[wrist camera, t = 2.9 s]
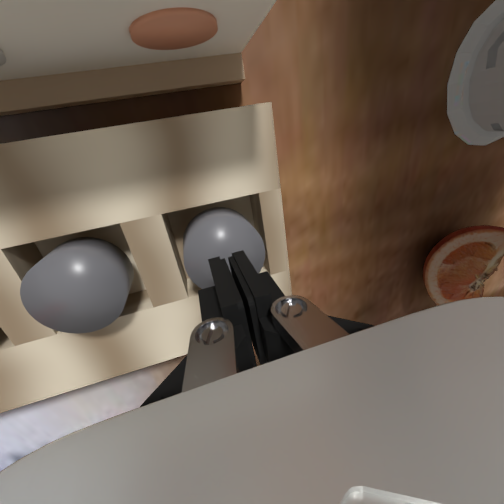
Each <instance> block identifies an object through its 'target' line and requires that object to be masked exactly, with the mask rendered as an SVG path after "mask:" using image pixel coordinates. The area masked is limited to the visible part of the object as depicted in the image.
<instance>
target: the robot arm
mask: <svg viewBox="0 0 504 504" xmlns="http://www.w3.org/2000/svg"><path fill="white" fill-rule="evenodd" d="M228 260H229V265H230V269H231V272H230V270H229V267H228V265H227V263H226V260H225V258H223V259H220V257H215V258H211V259H208V261H209V265H210V269H211V273H212V277H213V281H214V284H215V286H211V287H208V288H204V289H201V290H198V296H199V303H200V311H201V318H202V322H201V323H200V324H198V325H197V326H196V327H195V328H194V329H193V331H192V333H191V336H190V341H189V348H188V354H187V356H186V357H185V358H184V359H183V360H182V361H181V363H180V364H179V365H178V366H177V367H176V368H175V369H174V370H173V371H172V372H171V373H170V375H169V376H168V377H167V378H166V379H165V380H164V381H163V382H162V383H161V384H160V385H159V387H158V388H157V389H156V390H155V391H154V392H153V393H152V394H151V395H150V396H149V397H148V398H147V400H146V401H145V402H144V403H143V404H142V405H141V406H140V408H137V409H134V410H131V411H128V412H125V413H122V414H120V415H117V416H115V417H112V418H109V419H107V420H104V421H102V422H99V423H96V424H94V425H91V426H88V427H86V428H83V429H81V430H78V431H75V432H73V433H71V434H69V435H66V436H64V437H62V438H60V439H58V440H55V441H53V442H51V443H49V444H47V445H45V446H43V447H41V448H39V449H38V450H36V451H34V452H32V453H30V454H28V455H26V456H25V457H23V458H21V459H19V460H18V461H16V462H14V463H13V464H11V465H10V466H8V467H7V468H5V469H4V470H2V471H1V472H0V504H504V297H479V298H471V299H463V300H458V301H454V302H449V303H445V304H441V305H438V306H435V307H431V308H428V309H425V310H421V311H418V312H415V313H412V314H409V315H406V316H403V317H400V318H397V319H394V320H391V321H388V322H385V323H382V324H379V325H376V326H374V325H369V324H365V323H360V322H355V321H350V320H346V319H341V318H336V317H331V316H327V315H326V314H325V313H323V312H322V311H321V310H320V309H319V308H317V307H316V306H315V305H314V304H313V303H311V302H310V301H309V300H308V299H306V298H304V297H301V296H296V295H289V296H285V295H284V293H283V292H282V291H281V289H280V288H279V287H278V285H277V284H276V282H275V281H274V280H273V278H272V277H271V275H270V274H269V273H268V272H267V271H265V272H262V273H257V271H256V270H255V268H254V267H253V265H252V263H251V262H250V260H249V259H248V257H247V256H246V254H245V252H244V251H243V250H242V251H238V252H234V253H232V256H231V257H228ZM251 341H252V342H251ZM252 344H253V346H254V349H255V352H256V354H257V357H258V359H259V362H260V364H261V365H260V366H257V365H256V360H255V356H254V351H253V346H252ZM262 364H263V365H262ZM256 366H257V367H256ZM253 367H254V368H253Z"/></svg>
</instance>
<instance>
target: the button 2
mask: <svg viewBox="0 0 504 504" xmlns="http://www.w3.org/2000/svg"><path fill="white" fill-rule="evenodd" d="M242 250H243V251H244V252H245V254H246V256H247V257H248V259H249V260H250V262H251V263H252V265H253V267H254V268H255V270H256V271H257V273H260V271H261V269H262V267H263V264H264V260H265V246H264V243H263V240H262V238H261V236H260V234H259V233H258V232H257V230H256V229H255V228H254V227H253V226H252V225H251V224H250V223H249V221H248V220H247V219H246V218H245V217H244V216H243V215H242V214H240V213H239V212H237V211H235V210H233V209H230V208H225V207H215V208H210V209H207V210H204V211H202V212H200V213H199V214H197V215H196V216H195V217H194V218H193V219H192V220H191V221H190V222H189V224H188V225H187V227H186V229H185V232H184V236H183V258H184V266H185V270H186V272H187V274H188V276H189V278H190V279H191V280H192V282H193V283H195V284H196V285H197V286H198V287H200V288H201V289H204V288H208V287H211V286H215V284H214V281H213V277H212V273H211V269H210V265H209V261H208V259H211V258H215V257H220V259H223V258H225V260H226V263H227V265H228V267H229V270H230V272H231V269H230V265H229V260H228V257H231V256H232V253H234V252H238V251H242Z"/></svg>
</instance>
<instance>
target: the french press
mask: <svg viewBox="0 0 504 504" xmlns="http://www.w3.org/2000/svg"><path fill="white" fill-rule="evenodd" d="M447 115H448V117H449V120H450V123H451V125H452V128H453V131H454V134H455V135H457V136H458V137H459V138H460V139H462V140H463V141H464V142H465V143H467V144H468V145H487V144H490V143H492V142H494V141H496V140H498V139H500V138H503V137H504V0H495V1H494V2H493V3H492V4H491V5H490V6H489V7H488V8H487V9H486V10H485V11H484V12H483V13H482V14H481V15H480V16H479V17H478V18H477V19H476V20H475V21H474V22H473V24H472V26H471V28H470V30H469V31H468V33H467V35H466V37H465V38H464V40H463V42H462V44H461V46H460V47H459V49H458V51H457V53H456V56H455V60H454V63H453V67H452V70H451V74H450V77H449V81H448V84H447Z"/></svg>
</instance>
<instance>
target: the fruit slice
mask: <svg viewBox="0 0 504 504" xmlns="http://www.w3.org/2000/svg"><path fill="white" fill-rule="evenodd" d="M503 256H504V228H502V227H496V226H484V225H482V226H472V227H466V228H462V229H459V230H457V231H455V232H452V233H450V234H449V235H447V236H446V237H444V238H443V239H442V240H441V241H439V242H438V243H437V244H436V245H435V247H434V248H433V249H432V250H431V251H430V253H429V255H428V256H427V258H426V260H425V263H424V267H423V280H424V284H425V287H426V289H427V292H428V294H429V296H430V298H431V299H432V300H433V301H434V302H435V304H436V305H441V304H445V303H449V302H454V301H458V300H463V299H471V298H479V297H482V295H483V292H484V284H483V282H484V281H485V280H486V279H488V278H489V277H490V276H491V275H492V274H493V273H494V272H495V271H497V266H498V265H499V264H500V262H501V259H502V258H503Z"/></svg>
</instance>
